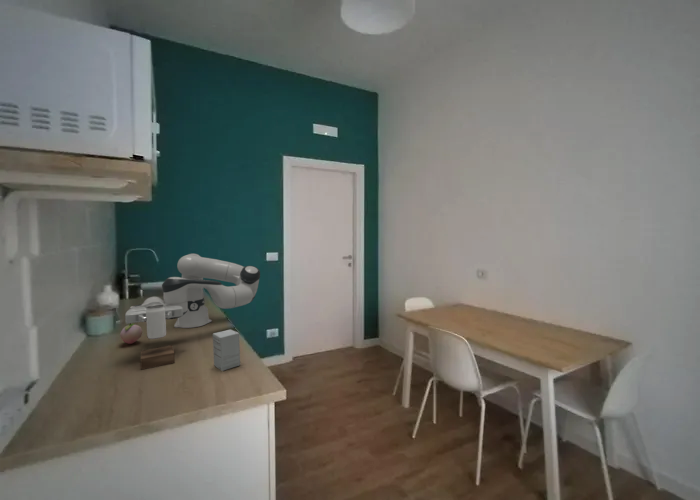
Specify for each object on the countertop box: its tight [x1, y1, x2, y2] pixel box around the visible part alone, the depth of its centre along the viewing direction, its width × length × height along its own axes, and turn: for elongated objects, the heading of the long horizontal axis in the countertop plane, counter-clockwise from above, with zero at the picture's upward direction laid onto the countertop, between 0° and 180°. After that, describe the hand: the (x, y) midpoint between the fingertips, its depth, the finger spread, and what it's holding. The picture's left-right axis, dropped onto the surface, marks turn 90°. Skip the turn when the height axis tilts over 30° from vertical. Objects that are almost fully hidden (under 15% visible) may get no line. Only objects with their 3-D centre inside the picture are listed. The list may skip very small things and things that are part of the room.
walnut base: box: [140, 344, 176, 370], centre depth 130 cm, size 11×11×4 cm
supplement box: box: [212, 329, 241, 372], centre depth 125 cm, size 7×7×13 cm
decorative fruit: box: [119, 323, 143, 345], centre depth 151 cm, size 9×8×10 cm
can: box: [145, 305, 167, 340], centre depth 129 cm, size 6×6×12 cm
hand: (156, 318), depth 129 cm, fingers closed on can, 6 cm apart
